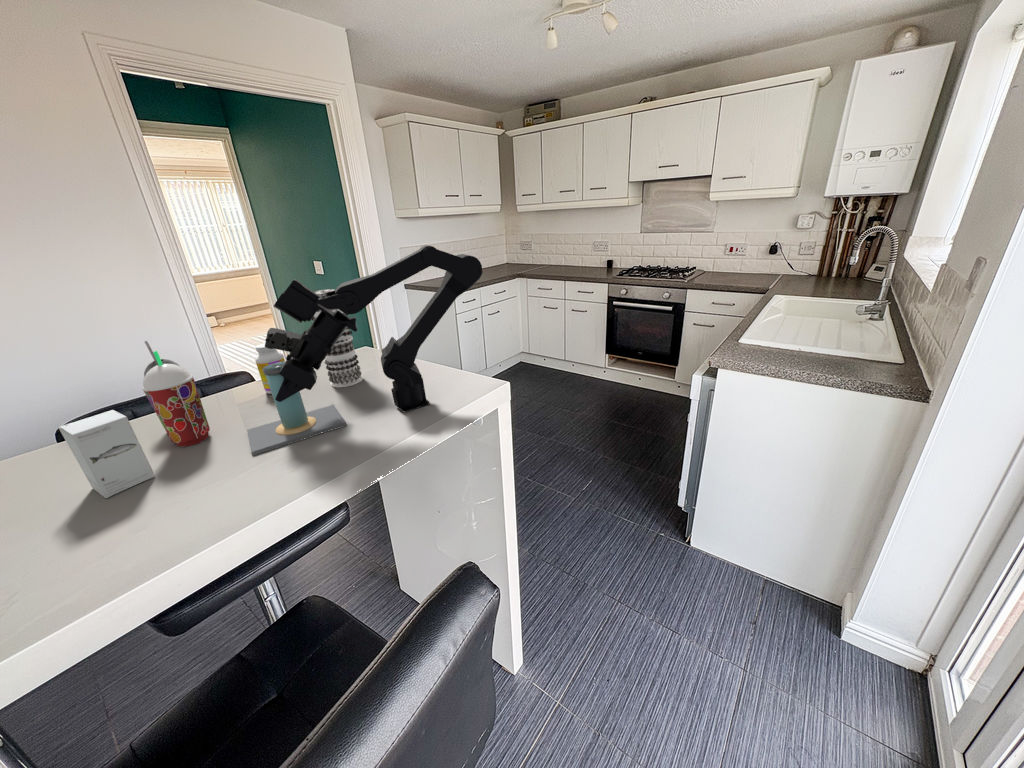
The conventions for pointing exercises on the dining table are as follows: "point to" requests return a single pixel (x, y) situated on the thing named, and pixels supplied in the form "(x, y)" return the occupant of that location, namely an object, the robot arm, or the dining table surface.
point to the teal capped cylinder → (289, 408)
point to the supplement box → (108, 452)
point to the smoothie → (176, 403)
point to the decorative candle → (342, 357)
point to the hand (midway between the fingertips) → (279, 396)
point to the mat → (293, 430)
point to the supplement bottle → (267, 362)
